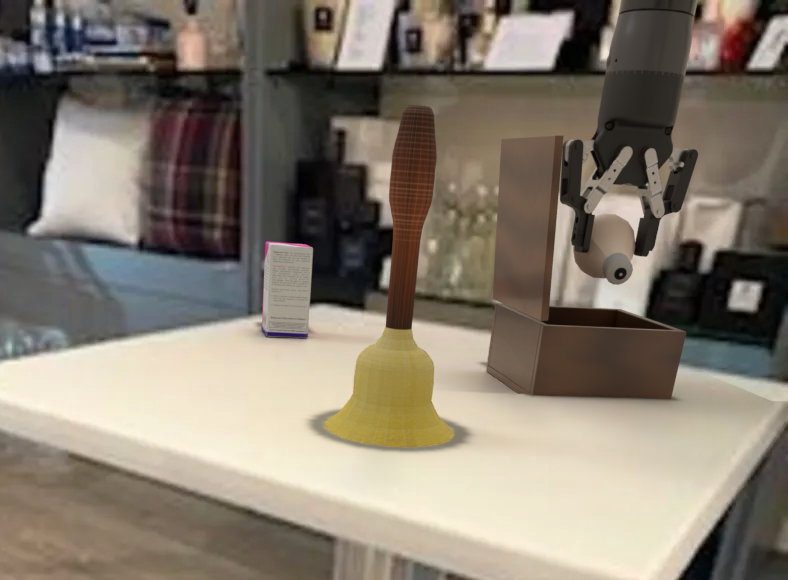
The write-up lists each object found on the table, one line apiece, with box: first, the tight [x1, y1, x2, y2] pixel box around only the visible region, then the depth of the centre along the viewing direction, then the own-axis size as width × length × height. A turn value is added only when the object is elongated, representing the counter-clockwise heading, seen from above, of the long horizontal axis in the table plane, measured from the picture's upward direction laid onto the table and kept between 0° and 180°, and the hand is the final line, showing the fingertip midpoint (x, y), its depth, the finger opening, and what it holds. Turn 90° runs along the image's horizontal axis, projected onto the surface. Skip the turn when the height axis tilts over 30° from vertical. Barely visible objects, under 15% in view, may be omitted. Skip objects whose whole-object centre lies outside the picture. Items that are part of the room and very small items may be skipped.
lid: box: [492, 134, 565, 321], centre depth 90 cm, size 16×16×1 cm
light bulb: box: [572, 212, 636, 286], centre depth 93 cm, size 7×7×11 cm
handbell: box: [324, 104, 455, 448], centre depth 70 cm, size 12×12×25 cm
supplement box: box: [261, 240, 314, 339], centre depth 116 cm, size 6×6×12 cm
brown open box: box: [485, 302, 687, 400], centre depth 97 cm, size 16×16×8 cm
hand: (611, 253), depth 93 cm, fingers closed on light bulb, 6 cm apart
